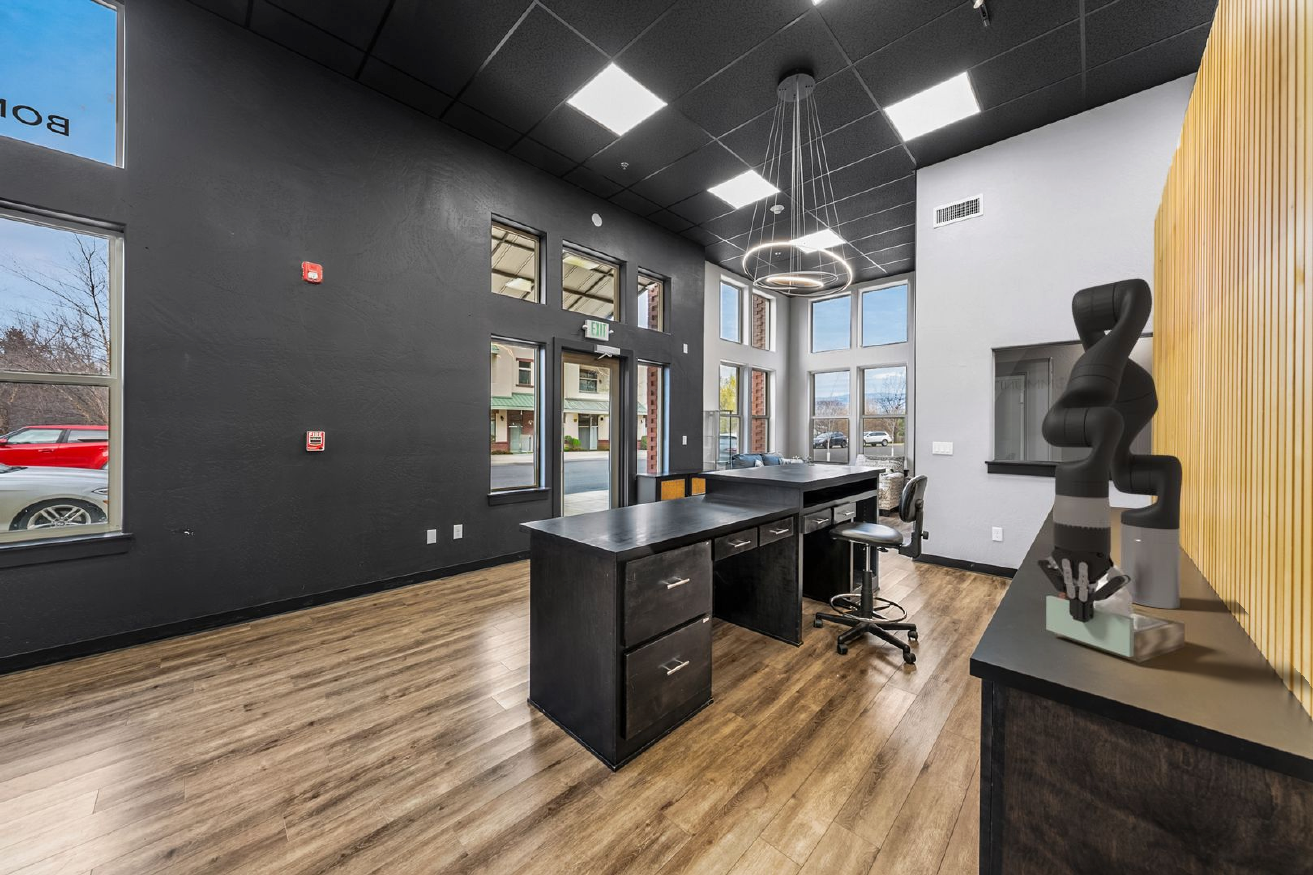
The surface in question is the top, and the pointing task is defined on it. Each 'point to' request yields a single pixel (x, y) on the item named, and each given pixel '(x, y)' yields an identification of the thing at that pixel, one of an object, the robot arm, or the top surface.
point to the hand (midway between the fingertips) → (1081, 620)
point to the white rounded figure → (1115, 599)
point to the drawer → (1098, 626)
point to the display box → (1151, 639)
